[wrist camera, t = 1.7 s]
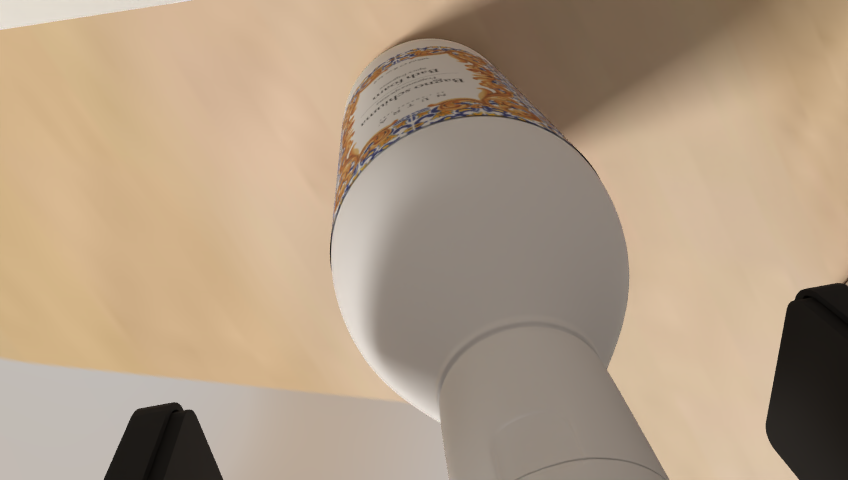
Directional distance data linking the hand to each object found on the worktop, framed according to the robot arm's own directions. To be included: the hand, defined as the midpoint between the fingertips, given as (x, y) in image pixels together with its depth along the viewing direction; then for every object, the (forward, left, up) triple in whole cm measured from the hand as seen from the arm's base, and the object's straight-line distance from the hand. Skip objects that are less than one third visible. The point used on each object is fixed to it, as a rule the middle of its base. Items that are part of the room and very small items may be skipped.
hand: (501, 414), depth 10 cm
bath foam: (0, 0, -18) cm, 17 cm away
